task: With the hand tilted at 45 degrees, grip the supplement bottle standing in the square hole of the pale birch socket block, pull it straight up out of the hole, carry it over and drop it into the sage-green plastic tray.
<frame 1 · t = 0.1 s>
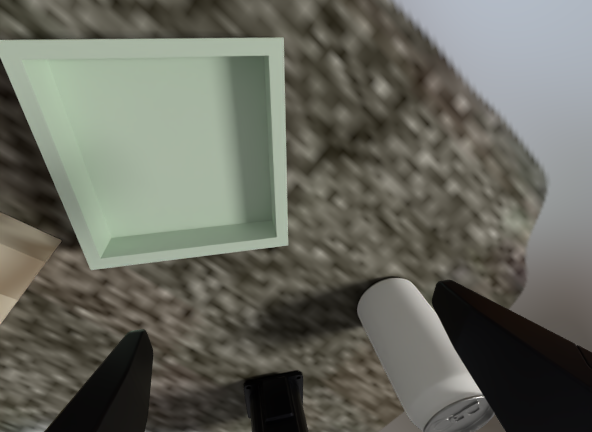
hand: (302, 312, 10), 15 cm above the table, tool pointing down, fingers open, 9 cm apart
tray: (181, 151, 21), on the table
can: (384, 298, 32), on the table
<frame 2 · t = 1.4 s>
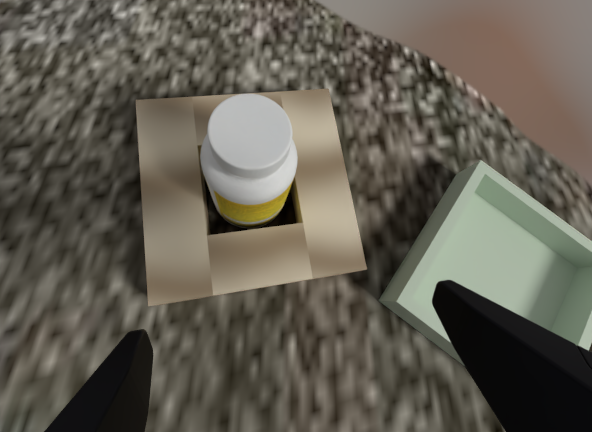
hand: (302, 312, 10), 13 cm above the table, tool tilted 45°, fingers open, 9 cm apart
tray: (486, 282, 25), on the table
socket block: (249, 194, 24), on the table
supplement bottle: (249, 195, 24), resting in socket block
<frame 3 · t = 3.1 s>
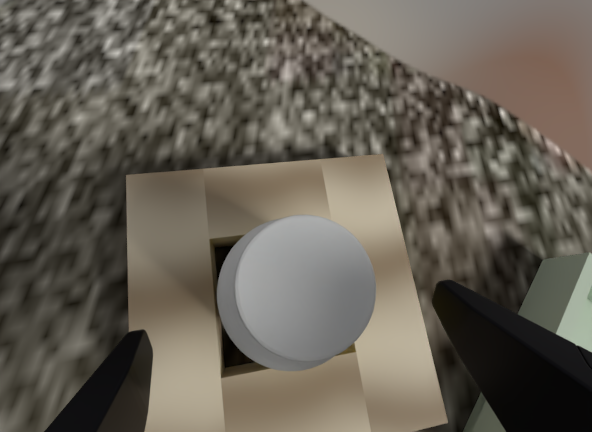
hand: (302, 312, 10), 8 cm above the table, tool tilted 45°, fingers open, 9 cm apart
socket block: (277, 295, 18), on the table
supplement bottle: (277, 296, 18), resting in socket block
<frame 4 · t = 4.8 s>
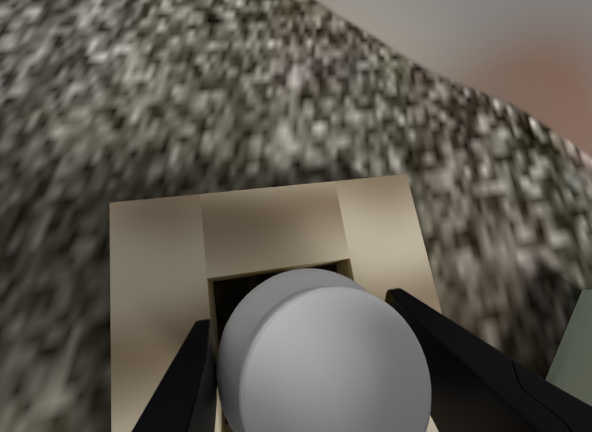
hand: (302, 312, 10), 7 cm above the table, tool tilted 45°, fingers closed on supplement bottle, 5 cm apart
socket block: (285, 337, 16), on the table
supplement bottle: (285, 337, 16), resting in socket block, touching gripper
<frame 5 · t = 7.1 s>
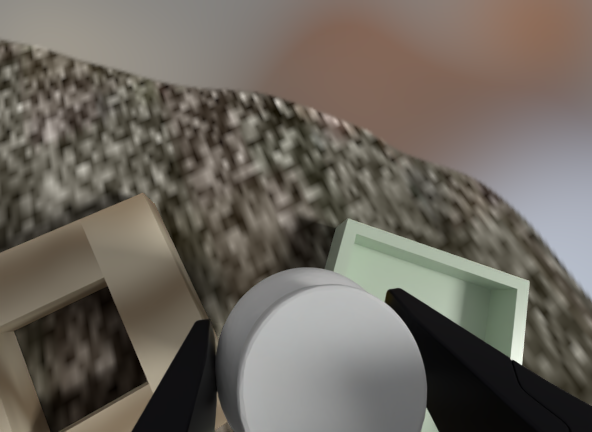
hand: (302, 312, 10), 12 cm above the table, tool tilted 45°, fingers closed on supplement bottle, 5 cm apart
tray: (399, 345, 22), on the table
socket block: (88, 352, 19), on the table
supplement bottle: (284, 336, 16), point 5 cm above the table, touching gripper
when the fingers open (8 cm above the table, at t = 9.3 s): supplement bottle stays where it is, resting on tray.
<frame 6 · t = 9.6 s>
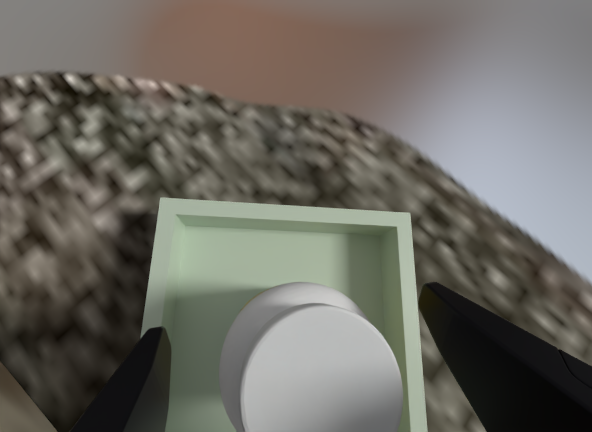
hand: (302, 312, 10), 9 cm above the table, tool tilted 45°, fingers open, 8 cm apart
tray: (282, 333, 17), on the table
supplement bottle: (282, 337, 17), resting on tray
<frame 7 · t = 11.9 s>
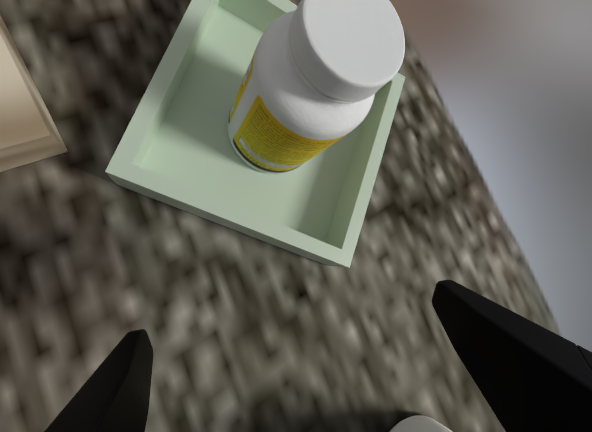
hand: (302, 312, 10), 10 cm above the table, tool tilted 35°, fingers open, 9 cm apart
tray: (269, 133, 20), on the table
supplement bottle: (269, 133, 20), resting on tray
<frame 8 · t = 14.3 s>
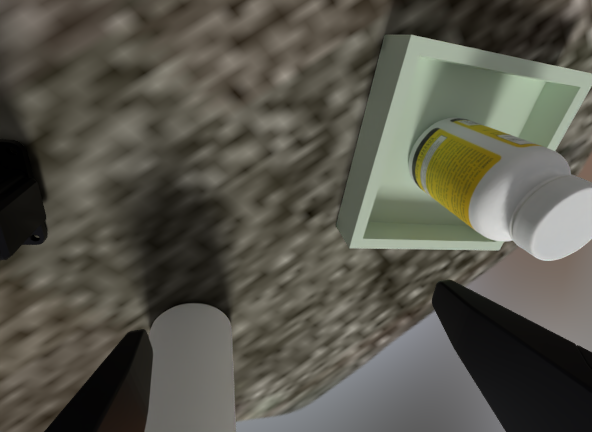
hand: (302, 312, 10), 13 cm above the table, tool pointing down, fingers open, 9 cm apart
tray: (438, 152, 23), on the table
can: (192, 326, 27), on the table
supplement bottle: (439, 153, 23), resting on tray
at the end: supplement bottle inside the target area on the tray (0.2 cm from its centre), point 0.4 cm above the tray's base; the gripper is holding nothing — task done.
